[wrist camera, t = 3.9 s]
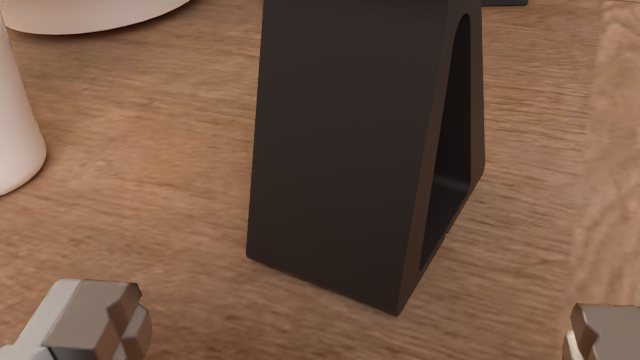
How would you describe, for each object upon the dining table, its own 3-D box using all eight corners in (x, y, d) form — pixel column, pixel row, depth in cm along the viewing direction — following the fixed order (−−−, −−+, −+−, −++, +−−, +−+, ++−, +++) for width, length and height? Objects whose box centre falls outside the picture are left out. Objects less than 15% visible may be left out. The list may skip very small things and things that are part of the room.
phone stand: (360, 139, 27) (350, -150, 20) (485, 172, 25) (524, -148, 18) (246, 261, 22) (175, -88, 14) (395, 321, 19) (400, -71, 12)
